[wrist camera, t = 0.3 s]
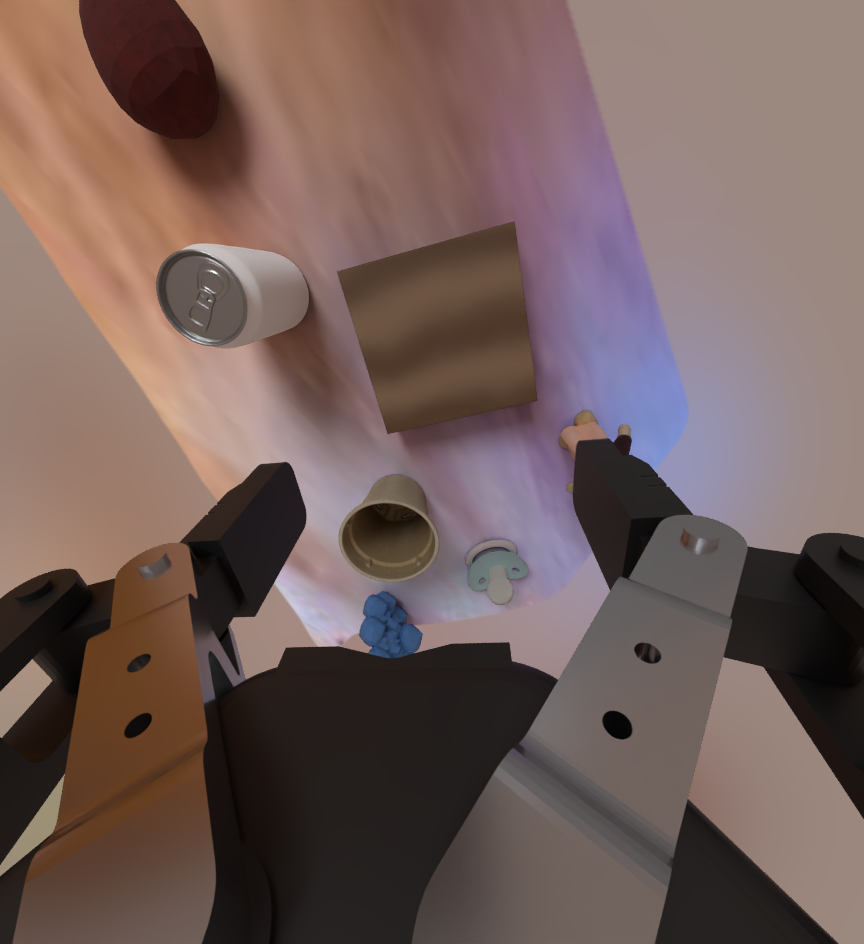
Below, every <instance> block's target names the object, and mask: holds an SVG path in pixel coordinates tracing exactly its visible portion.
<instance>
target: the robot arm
mask: <svg viewBox="0 0 864 944" xmlns="http://www.w3.org/2000/svg"><path fill="white" fill-rule="evenodd" d="M573 503H574V508H575V512H576V515H577V517H578V519H579V522H580V524H581V526H582V528H583V531H584V533H585V535H586V537H587V540H588V542H589V544H590V546H591V549H592V551H593V553H594V555H595V558H596V560H597V562H598V564H599V567H600V569H601V571H602V573H603V575H604V578H605V580H606V582H607V585H608V587H609V589H610V592H609V594H608V596H607V597H606V599H605V601H604V603H603V604H602V606H601V608H600V609H599V611H598V613H597V615H596V616H595V618H594V620H593V622H592V623H591V625H590V627H589V628H588V630H587V632H586V633H585V635H584V637H583V639H582V640H581V642H580V644H579V645H578V647H577V649H576V651H575V652H574V654H573V656H572V657H571V659H570V661H569V663H568V664H567V666H566V668H565V669H564V671H563V673H562V675H561V676H560V678H559V680H557V679H556V678H554V677H553V676H551V675H549V674H547V673H545V672H543V671H540V670H538V669H536V668H533V667H530V666H527V665H525V664H521V663H517V662H513V661H512V659H511V652H510V644H509V642H508V643H469V644H467V643H466V644H449V645H445V646H441V647H438V648H434V649H430V650H426V651H422V652H418V653H414V654H410V655H406V656H402V657H398V658H385V657H381V656H377V655H372V654H368V653H364V652H360V651H355V650H351V649H347V648H343V647H339V646H336V647H294V648H286V649H285V651H284V654H283V656H282V659H281V660H280V663H279V665H278V667H277V668H273V669H270V670H267V671H265V672H262V673H259V674H257V675H255V676H253V677H251V678H249V679H246V678H245V674H244V671H243V666H242V663H241V659H240V655H239V651H238V647H237V644H236V640H235V636H234V633H233V631H232V629H231V627H230V625H229V624H230V622H231V621H232V619H233V617H255V616H256V614H257V612H258V610H259V609H260V607H261V605H262V603H263V601H264V600H265V598H266V596H267V594H268V592H269V591H270V589H271V587H272V585H273V584H274V582H275V580H276V578H277V576H278V575H279V573H280V571H281V569H282V567H283V566H284V564H285V562H286V560H287V558H288V557H289V555H290V553H291V551H292V549H293V548H294V546H295V544H296V542H297V540H298V539H299V537H300V535H301V533H302V531H303V530H304V528H305V524H306V508H305V505H304V502H303V499H302V496H301V493H300V490H299V486H298V483H297V480H296V477H295V474H294V471H293V469H292V467H291V465H290V464H289V463H287V462H282V463H269V464H260V465H259V466H258V467H257V468H256V469H255V470H254V471H253V472H252V473H251V474H250V475H249V476H248V477H247V478H246V479H245V480H244V482H243V483H241V484H240V485H238V486H237V487H235V488H233V489H232V490H230V491H229V492H227V493H226V494H225V495H224V497H223V498H222V499H221V500H220V501H219V502H218V503H217V505H215V506H214V507H213V508H212V509H211V510H210V511H209V512H208V515H205V516H204V517H203V519H202V520H201V521H200V522H199V523H198V524H197V525H196V526H195V527H194V528H193V529H192V530H191V531H190V532H189V533H188V534H187V535H186V536H185V537H184V538H183V539H182V541H181V542H180V543H168V544H163V545H160V546H157V547H154V548H151V549H149V550H147V551H145V552H143V553H141V554H139V555H137V556H136V557H134V558H133V559H131V560H130V561H129V562H127V563H126V564H125V565H124V566H123V567H122V568H121V569H120V570H119V571H118V573H117V575H116V578H115V579H111V580H108V581H103V582H99V583H95V584H92V585H88V586H87V585H86V583H85V582H84V580H83V579H82V578H81V577H80V575H79V574H78V572H77V571H76V570H73V569H60V570H55V571H51V572H48V573H45V574H42V575H39V576H37V577H35V578H33V579H31V580H28V581H27V582H25V583H23V584H21V585H19V586H18V587H16V588H14V589H13V590H11V591H10V592H8V593H7V594H6V595H4V596H3V597H2V598H1V599H0V691H1V690H2V689H3V688H4V687H5V686H6V685H7V684H8V683H9V682H10V681H11V680H12V679H13V678H14V677H15V676H16V675H17V674H18V673H19V672H20V671H21V670H22V669H23V668H24V667H25V666H26V665H27V664H28V663H29V662H30V661H31V659H33V660H34V661H35V662H36V663H37V664H38V665H39V666H40V667H41V668H42V669H43V670H44V671H45V672H46V674H47V675H48V676H49V677H50V678H51V679H52V680H53V681H52V682H51V683H50V685H49V686H48V687H47V688H46V689H45V690H44V691H43V692H42V693H41V695H40V696H39V697H38V698H37V699H36V700H35V701H34V703H33V704H32V705H31V706H30V707H29V708H28V709H27V710H26V712H25V713H24V714H23V715H22V716H21V717H20V718H19V719H18V721H17V722H16V723H15V724H14V725H13V726H12V727H11V728H10V729H9V731H8V732H7V733H6V734H5V735H4V736H3V738H0V865H1V863H2V862H3V860H4V859H5V857H6V856H7V854H8V853H9V852H10V850H11V849H12V848H13V846H14V845H15V843H16V842H17V840H18V839H19V838H20V836H21V835H22V833H23V832H24V831H25V829H26V828H27V826H28V825H29V823H30V822H31V820H32V819H33V818H34V816H35V815H36V813H37V812H38V811H39V809H40V808H41V806H42V805H43V804H44V802H45V801H46V799H47V798H48V796H49V795H50V794H51V792H52V791H53V789H54V788H55V786H56V785H57V784H58V782H59V781H60V780H61V778H62V777H63V775H64V774H65V776H64V782H63V789H62V795H61V801H60V807H59V813H58V819H57V823H56V826H55V829H54V831H53V833H52V834H51V835H50V836H49V837H47V838H46V839H45V840H44V841H43V842H41V843H40V844H39V845H38V846H37V847H35V848H34V849H33V850H32V851H30V853H28V854H27V855H26V856H24V857H23V858H22V859H21V860H19V861H18V862H17V863H16V864H15V865H13V866H12V867H11V868H10V869H9V870H7V871H6V872H5V873H4V874H2V875H1V876H0V944H838V943H837V942H836V941H835V940H834V939H833V938H832V937H831V936H830V935H829V934H828V933H827V932H826V931H825V930H824V929H823V928H822V927H821V926H819V925H818V923H817V922H816V921H814V920H813V919H812V918H811V917H810V916H809V915H808V914H807V913H806V912H805V911H804V910H803V909H802V908H801V907H800V906H799V905H798V904H797V903H796V902H795V901H794V900H793V899H792V898H791V897H789V896H788V895H787V894H786V893H785V892H784V891H783V890H782V889H781V888H780V887H779V886H778V885H777V884H776V883H775V882H774V881H773V880H772V879H771V878H770V877H769V876H768V875H767V874H765V872H763V871H762V870H761V869H760V868H759V867H758V866H757V865H756V864H755V863H754V862H753V861H752V860H751V859H750V858H749V857H748V856H747V855H746V854H745V853H744V852H743V851H742V850H741V849H740V848H738V847H737V846H736V845H735V844H734V843H733V842H732V841H731V840H730V839H729V838H728V837H727V836H726V835H725V834H724V833H723V832H722V831H721V830H720V829H719V828H718V827H717V826H716V825H715V824H714V823H712V822H711V821H710V820H709V819H708V818H707V817H706V816H705V815H704V814H703V813H702V812H701V811H700V810H699V809H698V808H697V807H696V806H695V805H694V804H693V803H692V802H691V801H690V800H689V799H688V795H689V791H690V787H691V783H692V779H693V776H694V772H695V768H696V764H697V760H698V756H699V752H700V748H701V744H702V740H703V736H704V732H705V727H706V724H707V720H708V716H709V712H710V708H711V704H712V700H713V696H714V692H715V688H716V684H717V680H718V676H719V672H720V668H721V664H722V660H723V657H725V658H729V659H733V660H738V661H742V662H746V663H750V664H754V665H758V666H763V667H764V668H765V670H766V671H767V673H768V674H769V676H770V677H771V679H772V680H773V682H774V684H775V685H776V687H777V688H778V690H779V691H780V693H781V694H782V696H783V697H784V699H785V700H786V702H787V703H788V705H789V706H790V708H791V709H792V711H793V712H794V714H795V715H796V717H797V718H798V720H799V721H800V723H801V724H802V726H803V727H804V729H805V730H806V732H807V734H808V735H809V737H810V738H811V739H812V741H813V743H814V744H815V746H816V747H817V749H818V750H819V752H820V753H821V755H822V756H823V758H824V759H825V761H826V762H827V764H828V766H829V767H830V768H831V770H832V772H833V773H834V775H835V776H836V778H837V779H838V781H839V782H840V784H841V785H842V786H843V788H844V790H845V791H846V793H847V794H848V796H849V797H850V799H851V800H852V802H853V803H854V805H855V807H856V808H857V809H858V811H859V813H860V814H861V816H862V817H863V819H864V538H863V537H859V536H854V535H849V534H841V533H822V534H817V535H814V536H811V537H810V538H808V539H807V541H806V542H805V544H804V547H803V549H802V551H801V553H800V554H793V553H786V552H780V551H772V550H766V549H759V548H753V547H748V546H747V543H746V541H745V539H744V538H743V537H742V536H741V535H740V534H739V533H738V532H737V531H736V530H734V529H733V528H731V527H730V526H728V525H726V524H724V523H721V522H719V521H716V520H714V519H710V518H706V517H702V516H696V515H693V514H692V513H691V511H690V510H689V509H688V508H687V507H686V506H685V505H684V504H683V502H682V501H681V500H680V499H679V498H678V497H677V496H676V495H675V494H674V492H673V491H672V490H671V489H670V488H669V487H667V486H666V483H665V482H664V481H663V480H662V479H661V478H660V477H658V474H657V473H656V472H655V471H654V470H653V469H652V468H651V466H650V465H649V464H648V463H646V462H644V461H642V460H640V459H638V458H636V457H634V456H632V455H622V454H621V452H620V451H619V450H618V449H617V447H616V446H615V445H614V444H613V442H612V441H611V440H610V439H609V438H605V439H592V440H579V441H578V442H577V445H576V453H575V468H574V482H573Z"/></svg>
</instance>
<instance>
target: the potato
mask: <svg viewBox="0 0 864 944" xmlns="http://www.w3.org/2000/svg"><path fill="white" fill-rule="evenodd" d="M79 13H80V18H81V24H82V29H83V34H84V37H85V40H86V43H87V46H88V48H89V51H90V54H91V57H92V59H93V61H94V63H95V66H96V68H97V70H98V72H99V74H100V76H101V78H102V80H103V82H104V83H105V85H106V87H107V89H108V90H109V92H110V93H111V95H112V96H113V97H114V99H115V100H116V102H117V103H118V105H119V106H120V107H121V108H122V109H123V110H124V111H125V112H126V113H127V114H128V115H129V116H130V117H131V118H132V119H133V120H134V121H135V122H137V123H138V124H140V125H142V126H143V127H145V128H147V129H148V130H150V131H153V132H155V133H158V134H161V135H163V136H166V137H169V138H171V139H194V138H198V137H200V136H201V135H203V134H205V133H206V132H208V131H209V130H210V129H211V127H212V125H213V123H214V121H215V119H216V118H217V110H218V99H219V93H218V88H217V82H216V76H215V71H214V66H213V62H212V59H211V57H210V55H209V53H208V50H207V48H206V46H205V44H204V42H203V40H202V37H201V35H200V33H199V31H198V30H197V29H196V27H195V26H194V25H193V23H192V22H191V21H190V19H189V18H188V17H187V15H186V14H185V13H184V11H183V10H182V9H181V7H180V6H179V5H178V3H177V2H176V1H175V0H79Z"/></svg>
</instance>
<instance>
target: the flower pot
mask: <svg viewBox="0 0 864 944" xmlns="http://www.w3.org/2000/svg"><path fill="white" fill-rule="evenodd" d="M376 504H380V506H381V508H382V510H380V509H379V508H378V507H377V505H376ZM410 513H412V515H411V516H410V517H407V518H402V516H405V515H408V514H410ZM339 546H340V549H341V552H342V554H343V556H344V557H345V559H346V560H347V562H348V563H349V564H350V565H351V566H352V567H353V568H354V569H355V570H356V571H358V572H359V573H361V574H363V575H365V576H367V577H369V578H371V579H375V580H378V581H384V582H400V581H405V580H409V579H411V578H414V577H416V576H418V575H420V574H421V573H423V572H424V571H425V570H427V569H428V568H429V567H430V565H431V564H432V563H433V561H434V560H435V558H436V556H437V553H438V548H439V539H438V533H437V530H436V528H435V526H434V524H433V522H432V521H431V519H430V518H429V517H428V512H427V507H426V502H425V496H424V492H423V490H422V488H421V487H420V485H419V484H418V483H417V482H416V481H414V480H413V479H410V478H407V477H405V476H402V475H389V476H386V477H383V478H381V479H380V480H378V481H377V482H376V483H375V484H374V486H373V487H372V489H371V491H370V492H369V494H368V495H367V497H366V498H365V500H364V501H363V503H362V504H361V505H359V506H357V507H356V508H354V509H353V510H352V511H351V512H350V513H349V514H348V515H347V516H346V518H345V519H344V521H343V523H342V525H341V527H340V531H339Z"/></svg>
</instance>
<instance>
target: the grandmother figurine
mask: <svg viewBox="0 0 864 944" xmlns="http://www.w3.org/2000/svg"><path fill="white" fill-rule="evenodd" d="M574 423H575V425H576V426H568V427H566V428H565V429H563V431H562V432H561V434H560V438H559V444H560V446H561V447H563V448H566V449H569V452H570V454H571V456H572V457H573V459H574V461H575V453H576V445H577V442H578V441H579V440H592V439H605V438H608V437H607V436H606V434H605V432H604V431H603V430H602V429H601V428H600V427H599V425H598V422H597V420H596V419H595V417H594V415H593V413H592V412H590V411H587V410H585V411H582V412H580V413H579V414H578V415H577V416H576V417H575V420H574ZM630 431H631V429H630V427H629V426H628V425H626V424H623V425H620V426H619V428H618V437H617V439H616V440H615V441H614V442H613V444H614V445H615V446H616V447H617V449H618V450H619V451H620V452H621V454H622V455H629V451H630V447H631V442H632V439H631V434H630ZM566 490H567V491H568V492H569V493H573V482H570V483H568V484H567V485H566Z"/></svg>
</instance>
